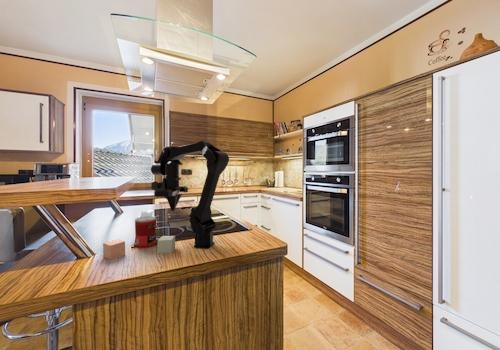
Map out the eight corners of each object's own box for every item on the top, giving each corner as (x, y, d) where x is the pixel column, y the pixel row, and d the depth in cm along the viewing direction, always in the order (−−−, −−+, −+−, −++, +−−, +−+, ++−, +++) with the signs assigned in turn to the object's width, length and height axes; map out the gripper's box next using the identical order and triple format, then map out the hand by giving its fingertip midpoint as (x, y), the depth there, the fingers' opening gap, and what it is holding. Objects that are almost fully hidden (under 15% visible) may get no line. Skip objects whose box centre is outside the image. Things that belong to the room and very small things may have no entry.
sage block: (175, 248, 86) (175, 235, 86) (171, 253, 81) (171, 240, 81) (162, 248, 86) (162, 236, 86) (157, 253, 81) (157, 240, 81)
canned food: (151, 248, 86) (150, 220, 85) (131, 248, 86) (130, 220, 86) (159, 241, 94) (159, 216, 93) (141, 241, 94) (141, 216, 93)
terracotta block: (125, 254, 80) (124, 241, 79) (110, 259, 75) (110, 245, 75) (117, 252, 82) (117, 239, 82) (103, 256, 78) (103, 243, 78)
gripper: (166, 174, 106) (167, 206, 107) (141, 176, 88) (142, 214, 88) (188, 174, 105) (188, 206, 105) (167, 176, 86) (168, 215, 87)
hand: (173, 210), depth 96 cm, fingers closed
